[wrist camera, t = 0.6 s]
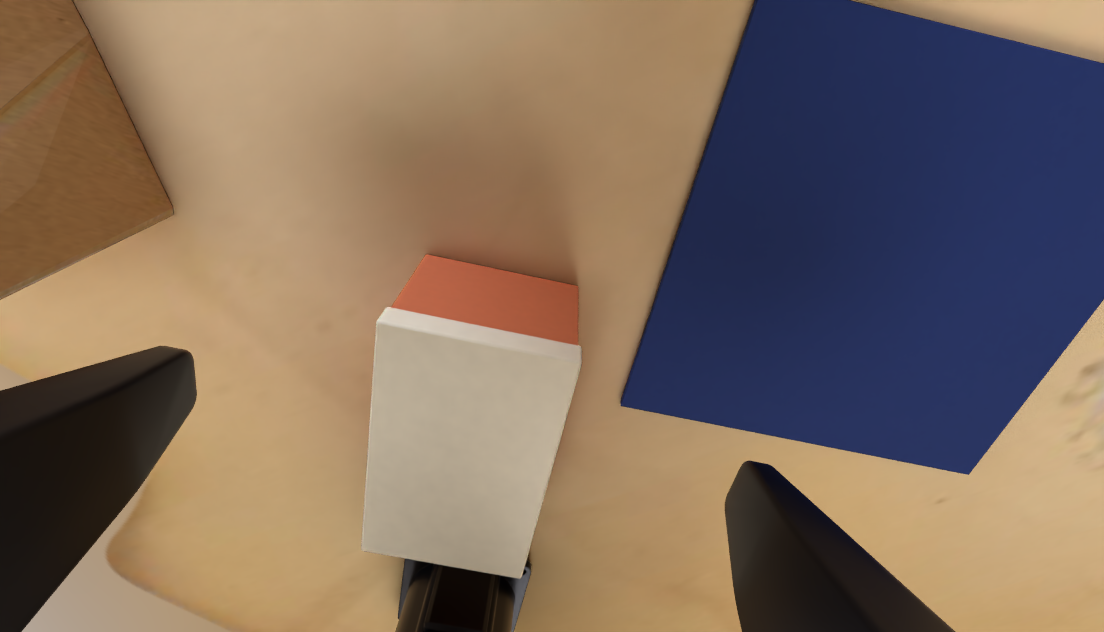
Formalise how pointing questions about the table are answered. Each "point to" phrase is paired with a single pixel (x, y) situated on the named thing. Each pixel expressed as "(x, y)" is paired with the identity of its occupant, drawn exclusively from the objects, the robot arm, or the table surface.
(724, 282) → the blue cloth
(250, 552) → the table surface
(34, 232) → the sandwich container
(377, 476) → the box
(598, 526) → the table surface
